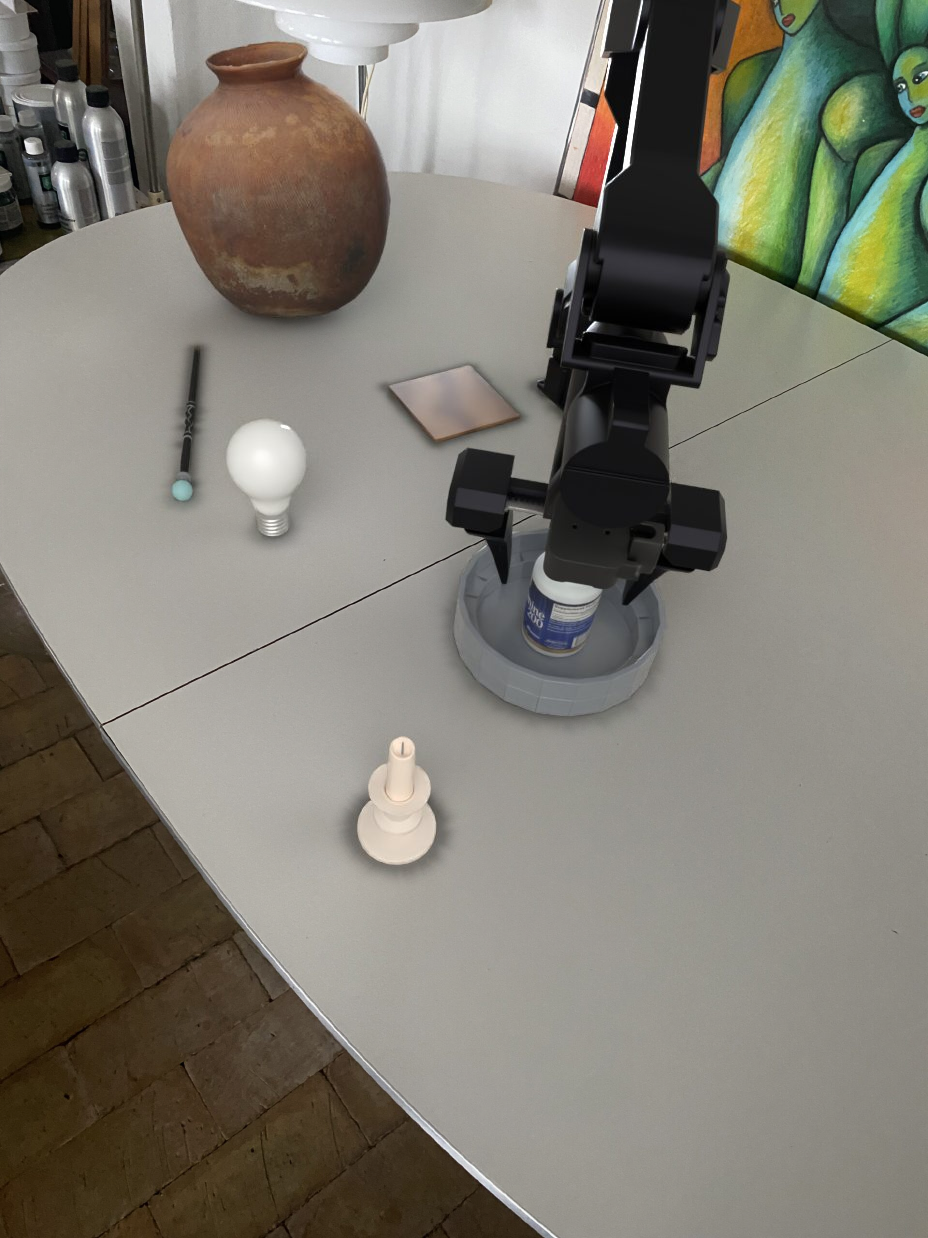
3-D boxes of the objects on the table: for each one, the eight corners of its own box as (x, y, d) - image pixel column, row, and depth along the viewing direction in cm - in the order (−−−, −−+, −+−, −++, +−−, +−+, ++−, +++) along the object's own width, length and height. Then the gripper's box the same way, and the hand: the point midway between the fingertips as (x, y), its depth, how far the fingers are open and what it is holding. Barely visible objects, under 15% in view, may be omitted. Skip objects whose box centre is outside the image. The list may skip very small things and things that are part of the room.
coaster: (469, 367, 95) (469, 364, 95) (519, 418, 90) (520, 415, 89) (388, 388, 91) (388, 385, 91) (435, 442, 86) (435, 439, 85)
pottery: (396, 351, 96) (405, 99, 77) (178, 350, 92) (132, 86, 74) (380, 252, 111) (385, 21, 92) (192, 248, 107) (157, 6, 88)
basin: (574, 545, 78) (584, 507, 74) (691, 672, 69) (708, 635, 66) (417, 604, 71) (420, 565, 68) (525, 752, 63) (534, 716, 59)
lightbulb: (323, 519, 77) (319, 415, 69) (290, 565, 73) (281, 461, 65) (258, 499, 78) (246, 394, 70) (222, 543, 74) (205, 437, 66)
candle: (438, 864, 56) (450, 780, 49) (357, 867, 56) (356, 782, 48) (433, 793, 60) (445, 704, 52) (357, 795, 59) (357, 705, 51)
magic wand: (200, 357, 93) (208, 345, 93) (186, 508, 77) (195, 494, 76) (185, 348, 92) (193, 336, 92) (167, 499, 76) (176, 486, 75)
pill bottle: (516, 608, 71) (534, 520, 64) (580, 608, 72) (605, 521, 65) (524, 660, 68) (545, 573, 60) (592, 660, 68) (619, 573, 61)
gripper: (439, 475, 50) (424, 649, 61) (766, 531, 49) (687, 696, 61) (469, 369, 57) (450, 542, 69) (753, 417, 56) (685, 583, 68)
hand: (564, 590), depth 66 cm, fingers open, 9 cm apart
